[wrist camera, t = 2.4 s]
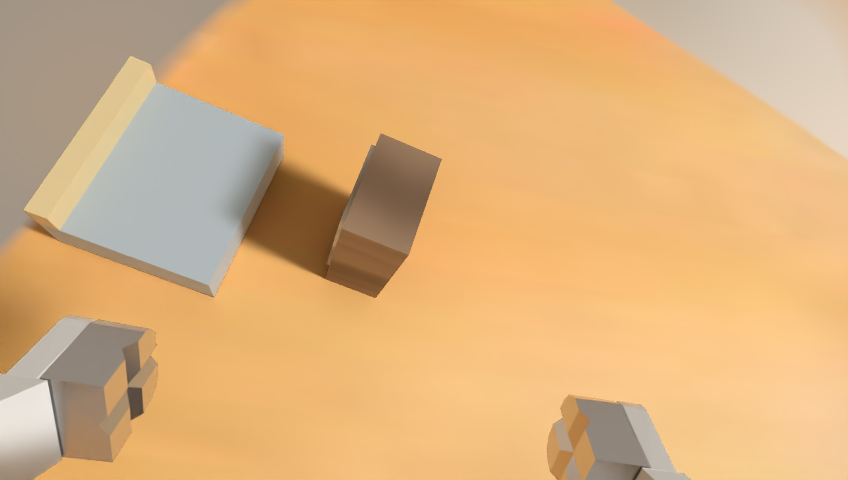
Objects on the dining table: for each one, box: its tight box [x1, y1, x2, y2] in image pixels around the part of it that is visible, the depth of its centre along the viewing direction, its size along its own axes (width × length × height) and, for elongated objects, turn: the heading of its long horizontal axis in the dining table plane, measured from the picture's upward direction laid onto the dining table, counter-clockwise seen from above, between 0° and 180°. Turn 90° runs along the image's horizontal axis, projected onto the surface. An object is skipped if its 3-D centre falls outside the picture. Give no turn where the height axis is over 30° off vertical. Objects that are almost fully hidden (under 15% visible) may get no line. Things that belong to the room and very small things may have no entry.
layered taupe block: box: [325, 134, 442, 298], centre depth 27 cm, size 5×3×8 cm, turn 163°
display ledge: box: [23, 56, 284, 297], centre depth 27 cm, size 9×8×4 cm
